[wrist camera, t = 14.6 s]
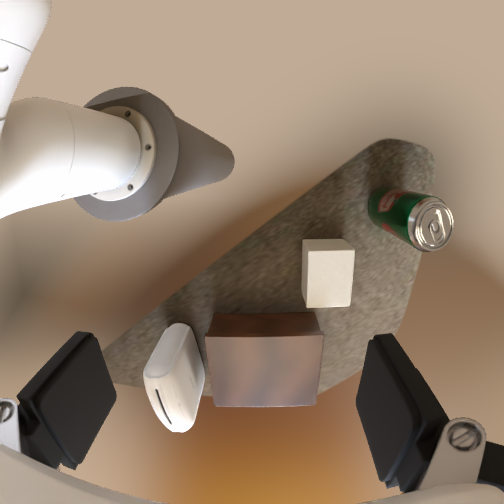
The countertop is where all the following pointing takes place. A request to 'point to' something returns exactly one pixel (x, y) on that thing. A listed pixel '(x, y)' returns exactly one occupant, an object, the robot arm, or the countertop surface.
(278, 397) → the storage box
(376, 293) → the countertop surface
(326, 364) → the countertop surface
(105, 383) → the robot arm
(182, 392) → the photo printer
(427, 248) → the soda can
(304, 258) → the white box
